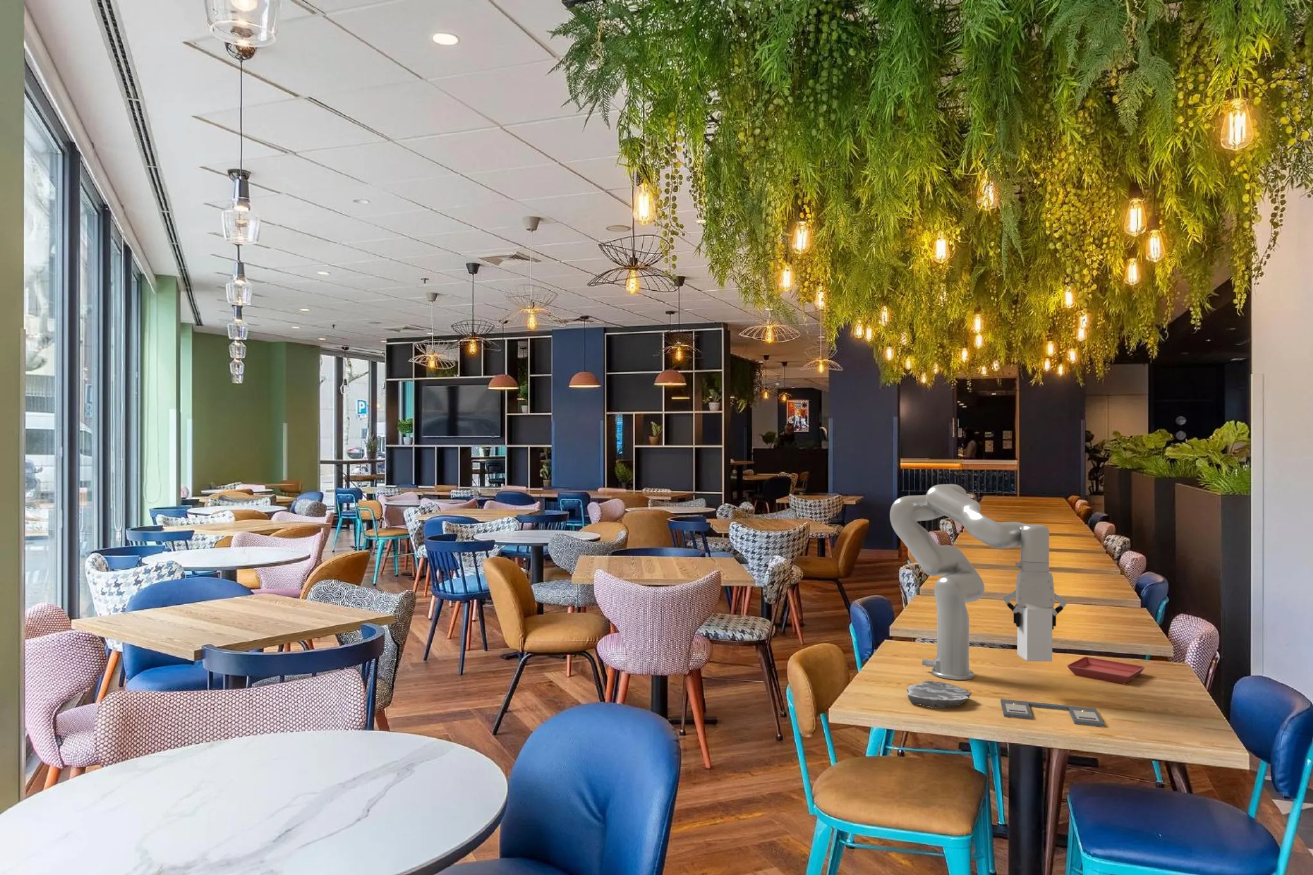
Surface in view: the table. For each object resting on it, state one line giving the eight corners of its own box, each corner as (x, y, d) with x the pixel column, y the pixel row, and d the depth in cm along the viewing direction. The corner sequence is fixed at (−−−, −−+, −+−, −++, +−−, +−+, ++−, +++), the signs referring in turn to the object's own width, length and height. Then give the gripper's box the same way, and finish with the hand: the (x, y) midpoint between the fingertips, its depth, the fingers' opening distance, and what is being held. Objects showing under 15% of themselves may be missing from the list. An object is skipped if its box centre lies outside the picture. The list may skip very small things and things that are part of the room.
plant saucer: (1084, 665, 282) (1084, 655, 282) (1145, 676, 270) (1145, 665, 270) (1065, 675, 269) (1065, 665, 269) (1128, 687, 257) (1128, 676, 257)
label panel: (1003, 716, 226) (1004, 712, 226) (1000, 701, 240) (1000, 698, 240) (1104, 726, 219) (1104, 723, 219) (1095, 710, 232) (1095, 707, 232)
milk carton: (1052, 662, 242) (1052, 595, 243) (1027, 661, 243) (1027, 595, 243) (1041, 655, 249) (1041, 591, 250) (1017, 655, 250) (1017, 590, 250)
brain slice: (962, 716, 227) (962, 704, 227) (899, 705, 236) (899, 694, 236) (977, 697, 244) (977, 687, 244) (917, 688, 253) (917, 678, 253)
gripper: (1003, 567, 246) (1003, 627, 245) (1069, 570, 240) (1069, 632, 240) (1001, 564, 253) (1001, 622, 252) (1065, 567, 247) (1065, 627, 247)
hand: (1034, 627), depth 246 cm, fingers closed on milk carton, 8 cm apart
